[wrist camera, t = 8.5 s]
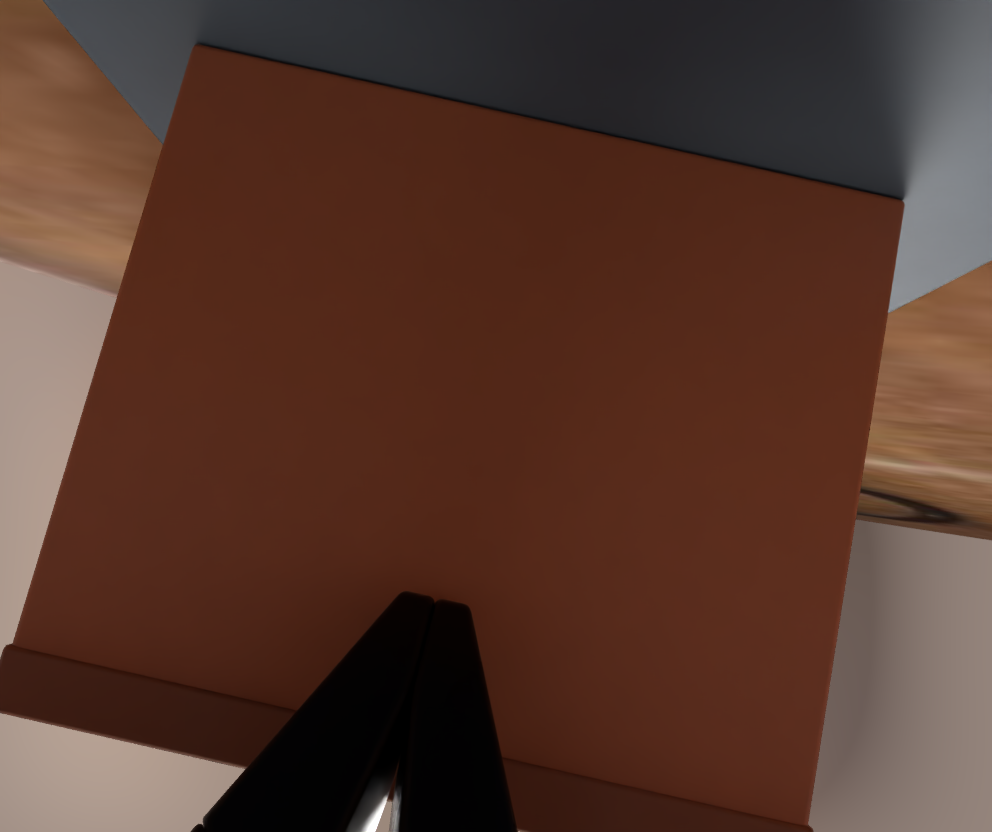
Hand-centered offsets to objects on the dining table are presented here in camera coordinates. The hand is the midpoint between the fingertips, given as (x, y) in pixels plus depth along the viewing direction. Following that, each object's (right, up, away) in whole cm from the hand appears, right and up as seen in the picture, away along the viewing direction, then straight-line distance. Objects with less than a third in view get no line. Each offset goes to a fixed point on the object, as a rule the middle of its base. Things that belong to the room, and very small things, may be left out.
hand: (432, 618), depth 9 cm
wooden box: (+1, +6, +8) cm, 10 cm away
